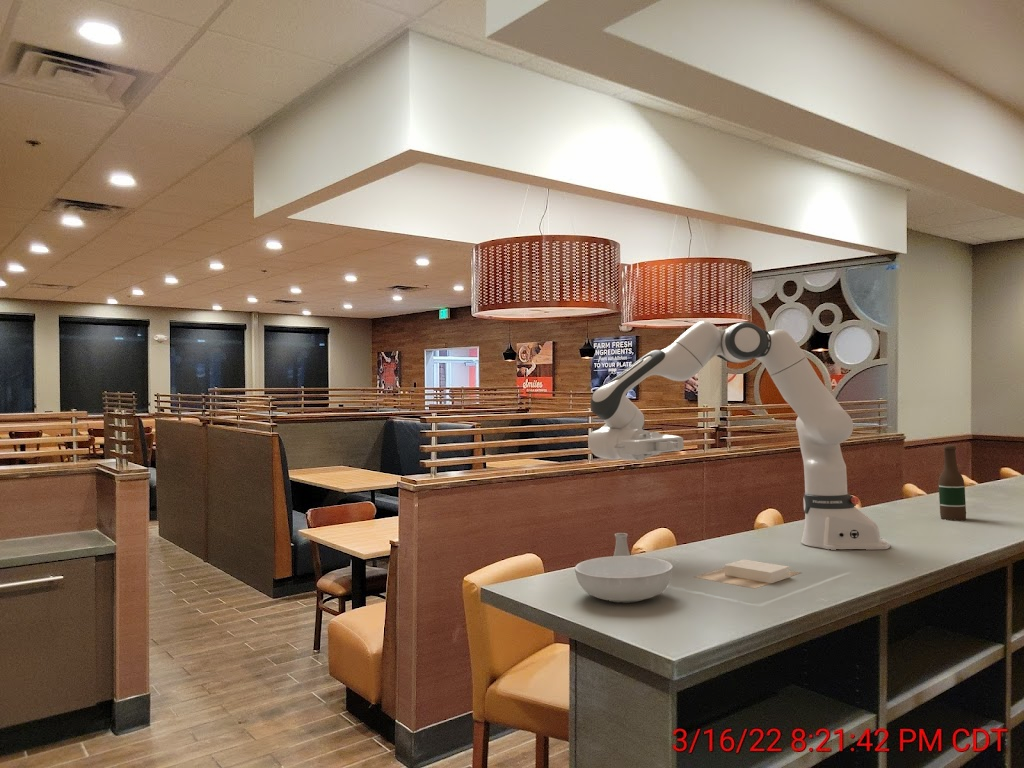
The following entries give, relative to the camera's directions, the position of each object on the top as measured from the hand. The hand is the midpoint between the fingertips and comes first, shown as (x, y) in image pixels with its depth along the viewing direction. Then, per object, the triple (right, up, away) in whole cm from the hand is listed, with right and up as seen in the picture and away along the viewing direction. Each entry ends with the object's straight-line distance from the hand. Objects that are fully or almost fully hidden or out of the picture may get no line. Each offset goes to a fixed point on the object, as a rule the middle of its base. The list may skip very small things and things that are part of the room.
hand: (676, 445), depth 194 cm
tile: (+10, -27, -18) cm, 34 cm away
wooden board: (+12, -29, -21) cm, 38 cm away
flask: (-16, -30, -15) cm, 38 cm away
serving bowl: (-19, -30, -35) cm, 50 cm away
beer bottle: (+102, -28, +48) cm, 116 cm away
